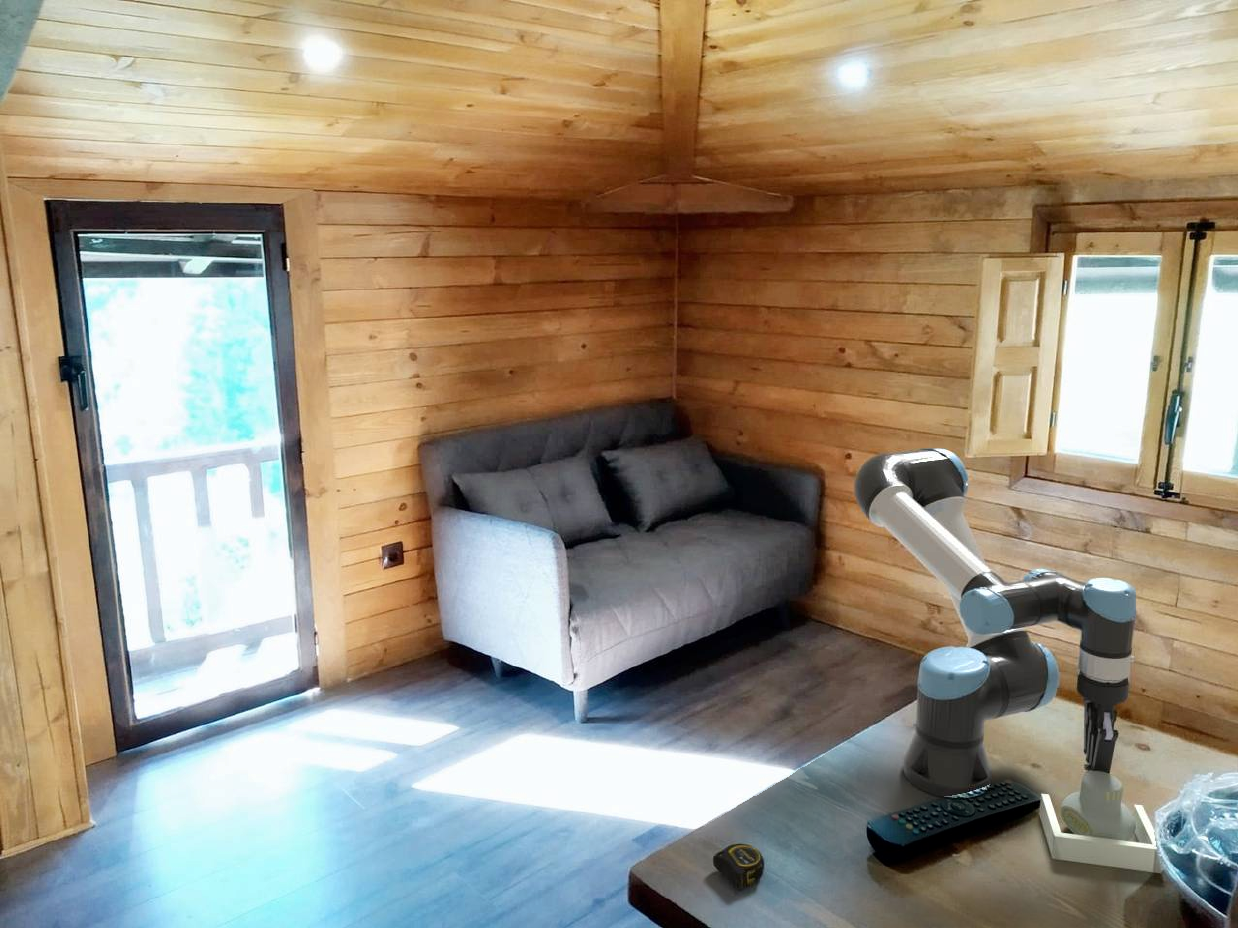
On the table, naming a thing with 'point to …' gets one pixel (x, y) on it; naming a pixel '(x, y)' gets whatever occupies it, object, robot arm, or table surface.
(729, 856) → the tape measure
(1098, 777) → the air freshener
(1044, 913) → the table surface
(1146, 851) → the dock
